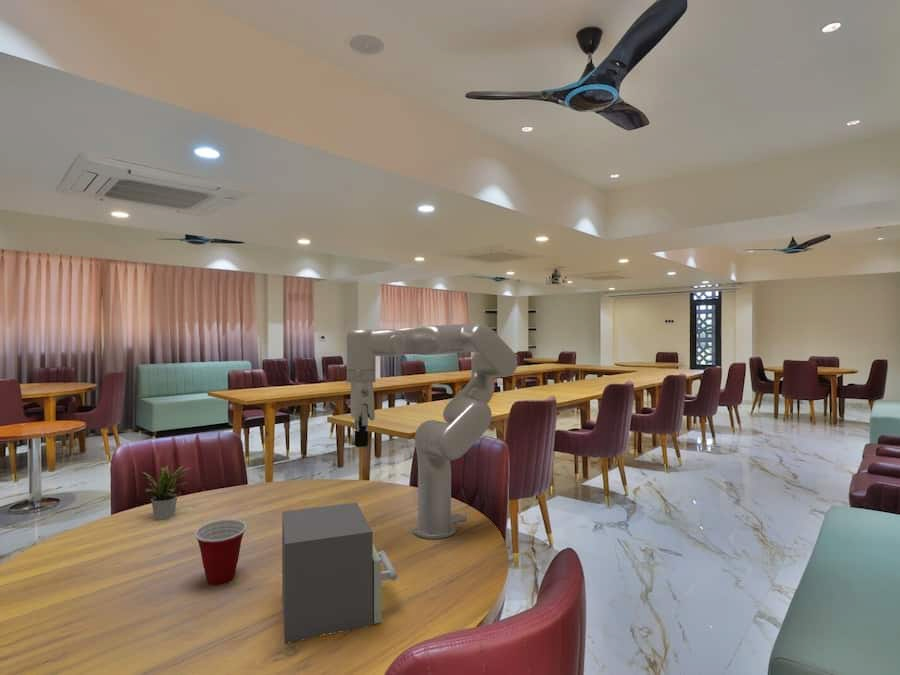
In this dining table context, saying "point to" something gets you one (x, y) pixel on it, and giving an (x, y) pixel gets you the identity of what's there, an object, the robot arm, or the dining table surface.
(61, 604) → the dining table surface
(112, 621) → the dining table surface
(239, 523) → the plastic cup
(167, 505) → the house plant
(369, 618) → the cabinet
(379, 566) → the drawer
